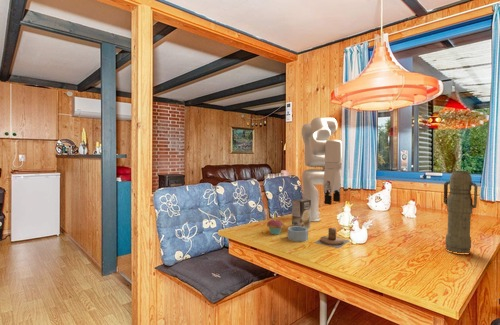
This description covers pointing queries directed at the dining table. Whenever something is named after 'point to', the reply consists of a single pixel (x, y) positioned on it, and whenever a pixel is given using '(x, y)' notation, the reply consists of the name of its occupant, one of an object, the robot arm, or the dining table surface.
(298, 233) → the bowl
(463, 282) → the dining table surface
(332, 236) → the lid
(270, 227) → the cupcake
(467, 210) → the thermos
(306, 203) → the coffee box
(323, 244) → the mat
